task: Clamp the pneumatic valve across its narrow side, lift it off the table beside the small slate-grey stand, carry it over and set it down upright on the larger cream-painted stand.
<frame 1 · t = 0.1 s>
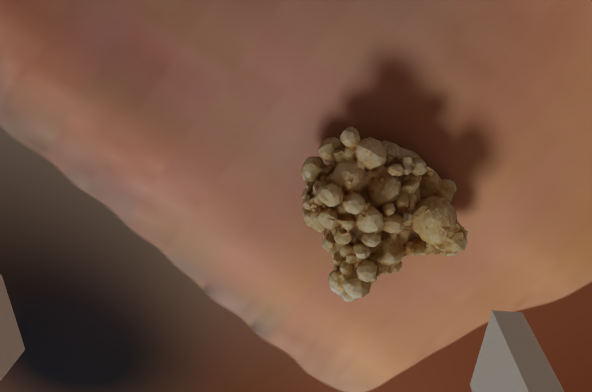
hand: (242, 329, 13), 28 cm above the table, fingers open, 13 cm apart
mineral formation: (372, 185, 42), on the table
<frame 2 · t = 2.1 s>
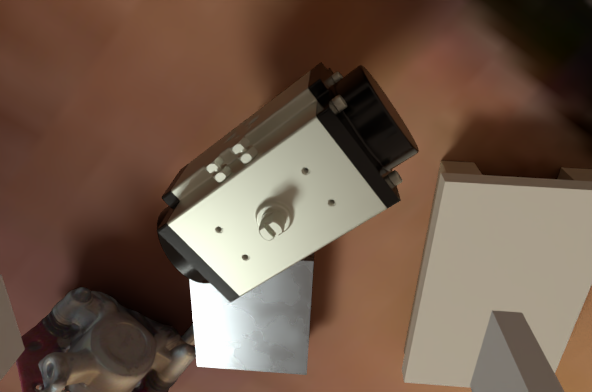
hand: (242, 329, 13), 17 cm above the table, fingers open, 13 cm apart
stand cream: (487, 271, 32), on the table
stand slate: (256, 289, 34), on the table
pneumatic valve: (289, 119, 28), on the table
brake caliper: (125, 324, 37), on the table
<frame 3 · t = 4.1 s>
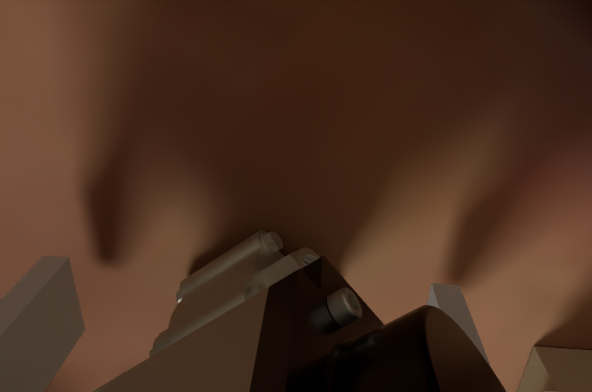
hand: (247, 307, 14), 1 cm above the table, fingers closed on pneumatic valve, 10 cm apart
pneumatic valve: (249, 273, 15), on the table, touching gripper
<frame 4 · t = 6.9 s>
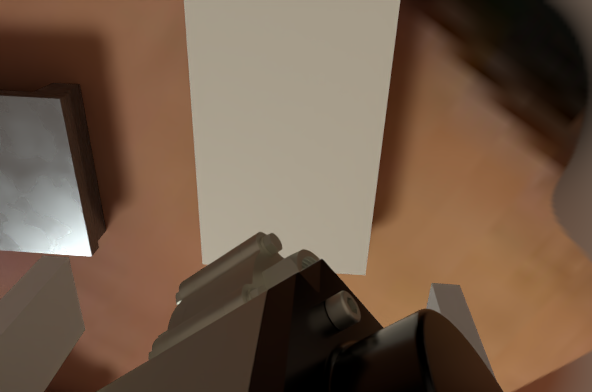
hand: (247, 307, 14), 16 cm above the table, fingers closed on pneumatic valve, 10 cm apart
stand cream: (290, 128, 28), on the table
stand slate: (38, 159, 30), on the table
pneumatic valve: (248, 275, 15), point 14 cm above the table, touching gripper
when the fingers open (5 cm above the table, at t = 9.7 s): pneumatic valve moves 1 cm, point 3 cm above the table.
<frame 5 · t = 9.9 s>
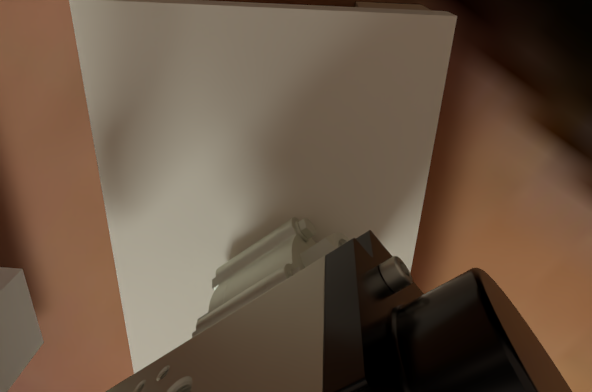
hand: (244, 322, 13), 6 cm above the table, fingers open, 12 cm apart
stand cream: (270, 219, 18), on the table
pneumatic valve: (281, 261, 16), point 3 cm above the table, touching gripper
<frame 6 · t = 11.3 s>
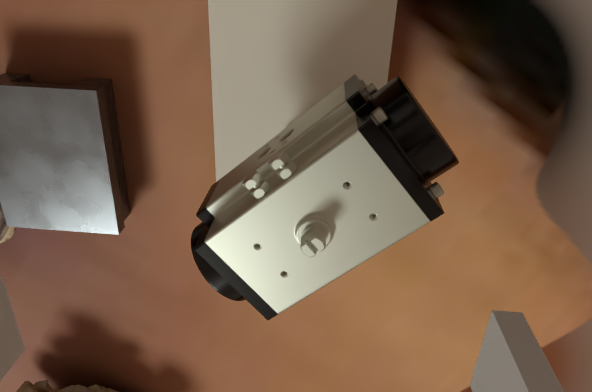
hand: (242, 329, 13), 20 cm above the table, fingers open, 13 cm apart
stand cream: (299, 119, 31), on the table
stand slate: (71, 147, 33), on the table
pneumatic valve: (316, 132, 28), point 3 cm above the table, touching stand cream
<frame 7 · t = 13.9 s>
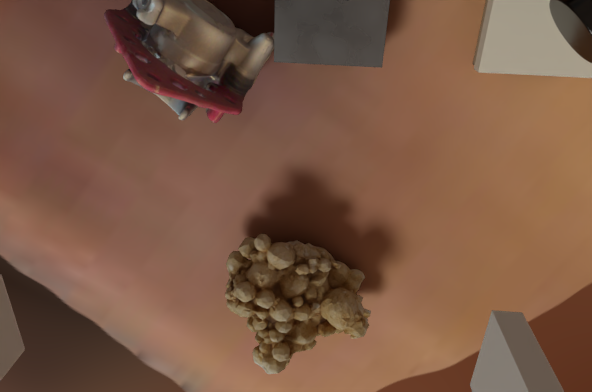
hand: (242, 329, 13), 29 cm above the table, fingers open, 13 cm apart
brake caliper: (198, 45, 38), on the table
mineral formation: (294, 269, 47), on the table
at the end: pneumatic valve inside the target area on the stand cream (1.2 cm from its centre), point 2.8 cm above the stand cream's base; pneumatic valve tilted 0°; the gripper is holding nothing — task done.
